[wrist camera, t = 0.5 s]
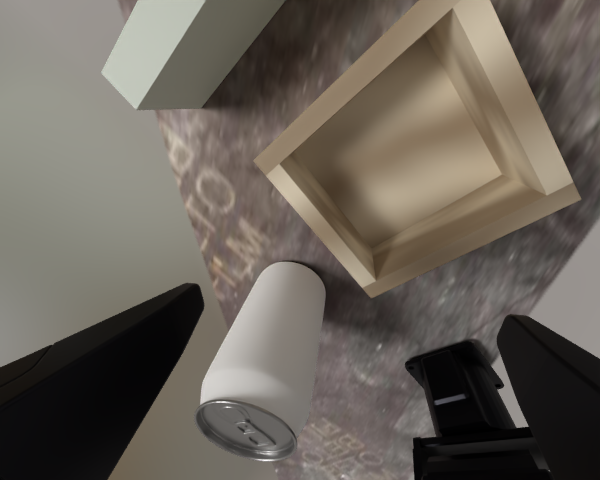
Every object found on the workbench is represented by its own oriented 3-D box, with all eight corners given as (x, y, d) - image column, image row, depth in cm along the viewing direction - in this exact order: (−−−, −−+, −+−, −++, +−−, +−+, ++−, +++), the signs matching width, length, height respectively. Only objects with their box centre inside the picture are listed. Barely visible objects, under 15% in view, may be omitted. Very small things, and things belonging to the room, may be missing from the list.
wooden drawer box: (518, 173, 16) (581, 199, 11) (367, 257, 20) (371, 298, 16) (428, 4, 13) (468, -48, 9) (277, 147, 18) (253, 160, 13)
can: (302, 247, 21) (254, 386, 11) (339, 302, 23) (329, 462, 13) (245, 274, 24) (162, 407, 13) (283, 321, 26) (236, 468, 15)
